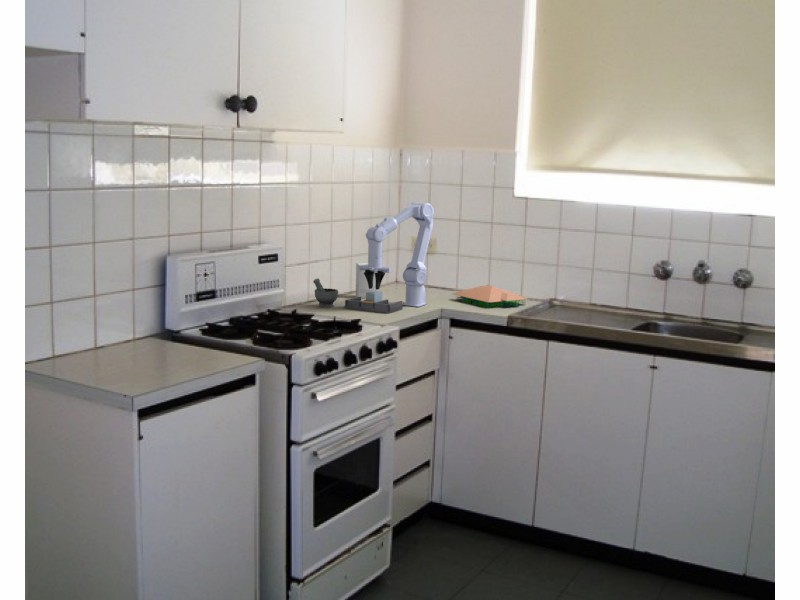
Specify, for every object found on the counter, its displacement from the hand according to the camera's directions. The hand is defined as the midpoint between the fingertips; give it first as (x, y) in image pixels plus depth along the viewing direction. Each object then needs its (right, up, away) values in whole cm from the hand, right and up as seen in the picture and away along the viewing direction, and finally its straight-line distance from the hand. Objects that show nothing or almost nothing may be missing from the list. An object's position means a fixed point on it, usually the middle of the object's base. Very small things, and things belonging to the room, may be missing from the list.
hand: (374, 288), depth 350 cm
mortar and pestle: (-21, -8, +4) cm, 22 cm away
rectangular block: (0, -7, +1) cm, 7 cm away
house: (+50, -6, +29) cm, 58 cm away
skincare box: (-5, -4, +31) cm, 32 cm away
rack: (0, -8, +1) cm, 8 cm away
